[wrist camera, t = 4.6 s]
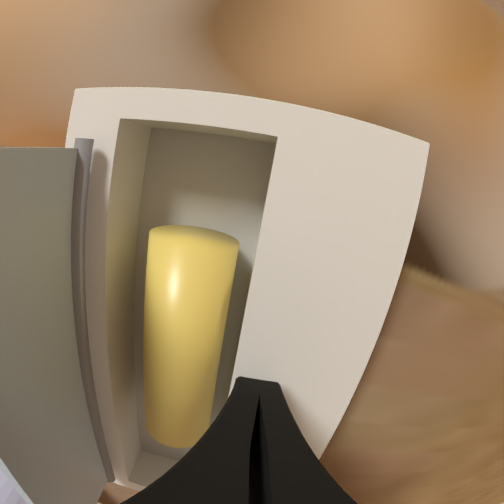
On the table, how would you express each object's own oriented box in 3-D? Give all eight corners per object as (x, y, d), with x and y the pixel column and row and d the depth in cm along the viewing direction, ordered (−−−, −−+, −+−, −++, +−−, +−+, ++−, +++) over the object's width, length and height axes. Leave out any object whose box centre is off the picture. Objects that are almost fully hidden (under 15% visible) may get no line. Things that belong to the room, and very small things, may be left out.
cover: (84, 553, 7) (67, 545, 7) (116, 476, 12) (102, 471, 12) (-68, 134, 2) (-85, 137, 2) (97, 139, 8) (74, 138, 8)
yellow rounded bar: (145, 446, 11) (145, 400, 13) (213, 447, 12) (204, 403, 14) (145, 244, 8) (152, 221, 11) (249, 255, 9) (230, 230, 12)
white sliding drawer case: (281, 480, 16) (282, 516, 13) (115, 445, 16) (99, 477, 13) (393, 147, 11) (429, 143, 8) (115, 102, 11) (75, 88, 8)
